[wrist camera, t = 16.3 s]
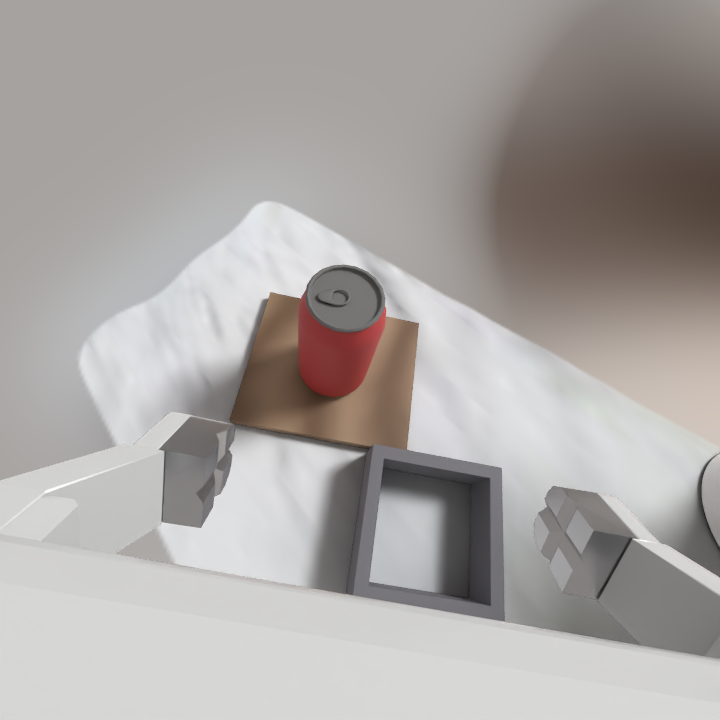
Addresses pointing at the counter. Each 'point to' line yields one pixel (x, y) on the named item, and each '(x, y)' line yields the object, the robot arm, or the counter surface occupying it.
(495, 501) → the can collar
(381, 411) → the walnut board
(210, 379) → the counter surface
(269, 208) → the counter surface
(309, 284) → the beer can
